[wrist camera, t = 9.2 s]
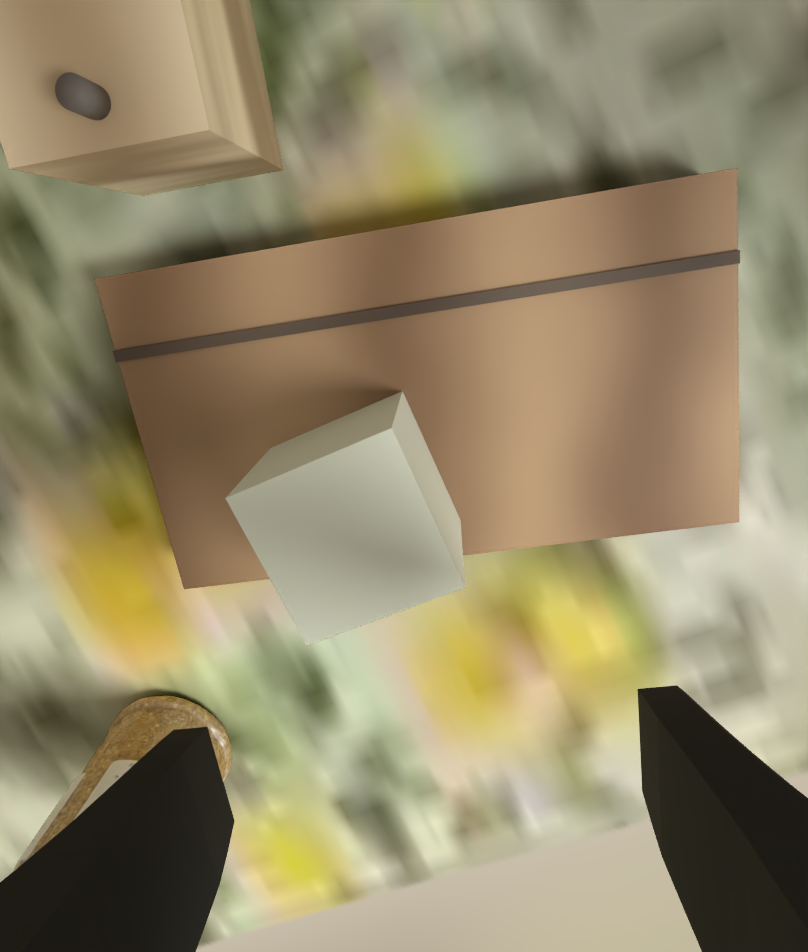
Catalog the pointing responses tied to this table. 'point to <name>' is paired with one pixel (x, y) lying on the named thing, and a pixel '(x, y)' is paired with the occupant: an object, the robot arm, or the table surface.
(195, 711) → the sprinkles bottle
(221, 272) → the plank
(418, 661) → the table surface
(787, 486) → the table surface
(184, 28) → the block
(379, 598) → the offcut block
